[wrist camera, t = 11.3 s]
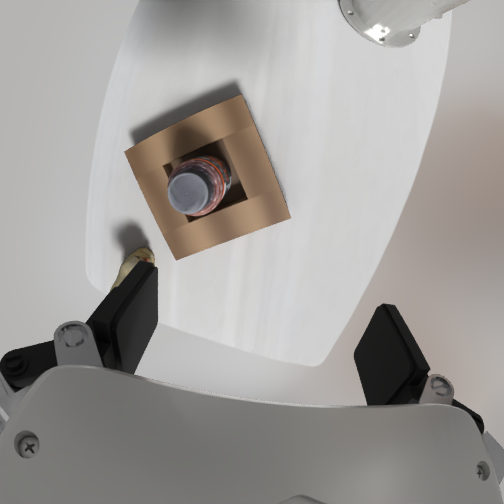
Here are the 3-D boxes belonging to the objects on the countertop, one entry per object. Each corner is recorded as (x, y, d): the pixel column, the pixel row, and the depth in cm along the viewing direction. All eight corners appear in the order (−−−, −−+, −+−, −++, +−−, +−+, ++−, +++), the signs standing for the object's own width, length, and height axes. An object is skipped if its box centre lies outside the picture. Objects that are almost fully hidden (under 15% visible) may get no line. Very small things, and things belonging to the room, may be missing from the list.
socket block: (243, 98, 32) (241, 94, 28) (288, 209, 37) (291, 218, 34) (137, 149, 35) (124, 151, 31) (183, 248, 40) (176, 260, 37)
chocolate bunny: (169, 268, 42) (146, 304, 33) (135, 289, 44) (110, 324, 34) (148, 239, 40) (119, 269, 31) (115, 262, 42) (84, 294, 33)
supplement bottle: (241, 171, 35) (232, 186, 24) (215, 207, 37) (197, 237, 26) (203, 145, 34) (178, 150, 23) (179, 182, 36) (147, 203, 25)
